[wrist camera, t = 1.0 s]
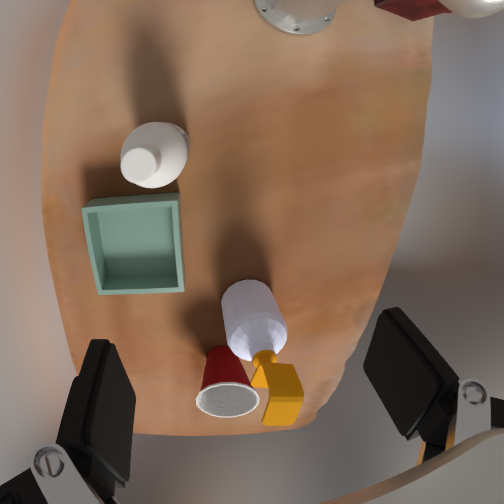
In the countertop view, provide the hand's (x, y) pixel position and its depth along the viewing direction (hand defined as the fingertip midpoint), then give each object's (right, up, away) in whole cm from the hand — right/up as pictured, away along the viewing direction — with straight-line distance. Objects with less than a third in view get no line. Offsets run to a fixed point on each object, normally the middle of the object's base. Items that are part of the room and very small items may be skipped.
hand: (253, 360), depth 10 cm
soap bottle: (-1, -5, +41) cm, 42 cm away
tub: (-17, +6, +33) cm, 38 cm away
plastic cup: (-6, -17, +46) cm, 49 cm away
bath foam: (-12, +18, +29) cm, 36 cm away
